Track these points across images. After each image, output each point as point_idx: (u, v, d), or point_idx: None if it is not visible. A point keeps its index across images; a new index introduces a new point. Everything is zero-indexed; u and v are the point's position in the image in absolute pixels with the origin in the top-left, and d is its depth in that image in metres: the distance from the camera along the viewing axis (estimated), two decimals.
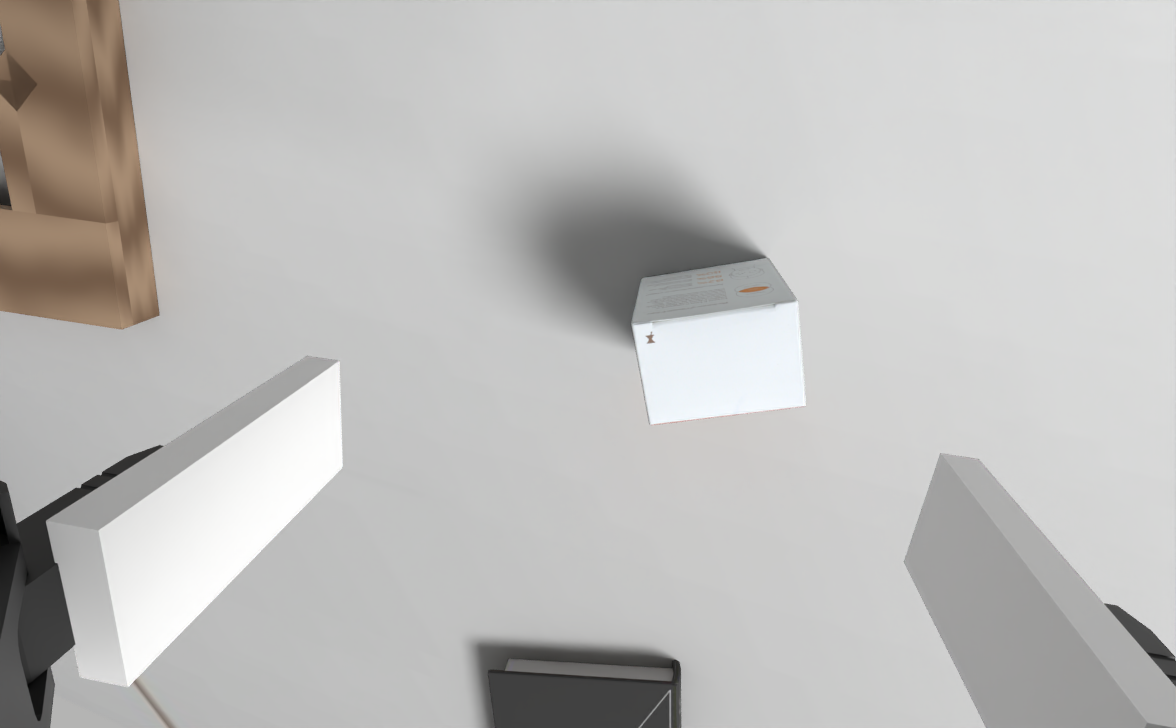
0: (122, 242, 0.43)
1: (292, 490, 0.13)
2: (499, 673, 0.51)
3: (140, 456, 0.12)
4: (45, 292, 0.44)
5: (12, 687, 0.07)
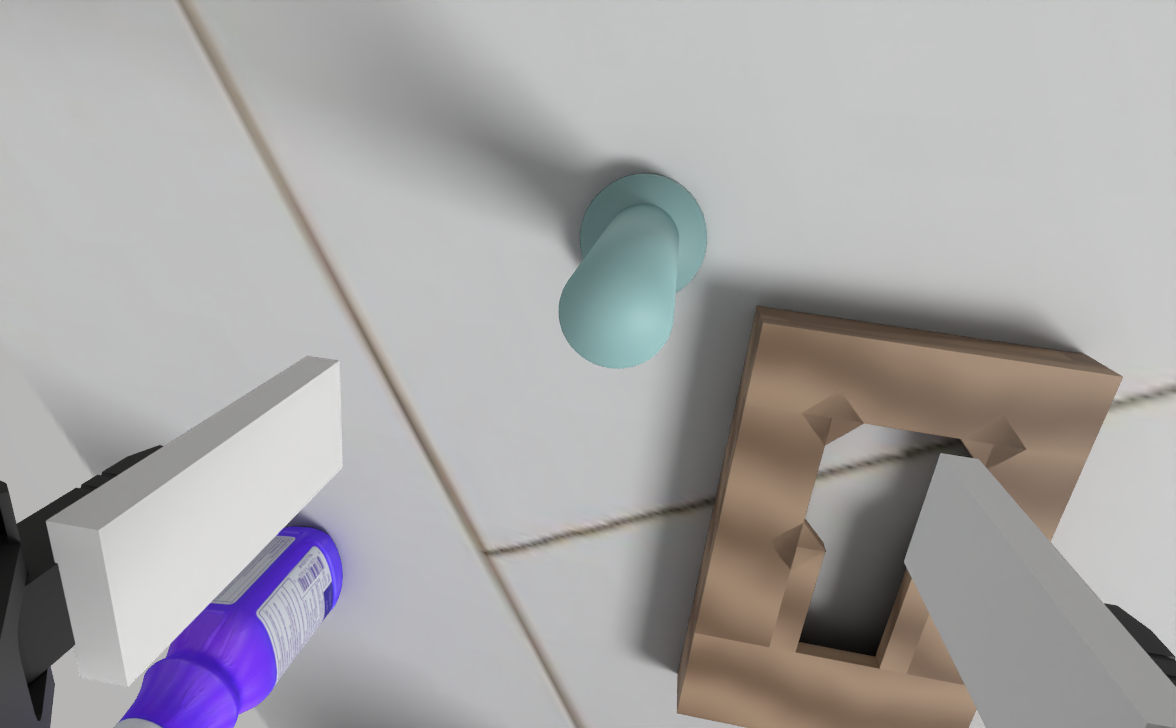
0: None
1: (292, 490, 0.13)
2: None
3: (139, 456, 0.12)
4: None
5: (12, 687, 0.07)
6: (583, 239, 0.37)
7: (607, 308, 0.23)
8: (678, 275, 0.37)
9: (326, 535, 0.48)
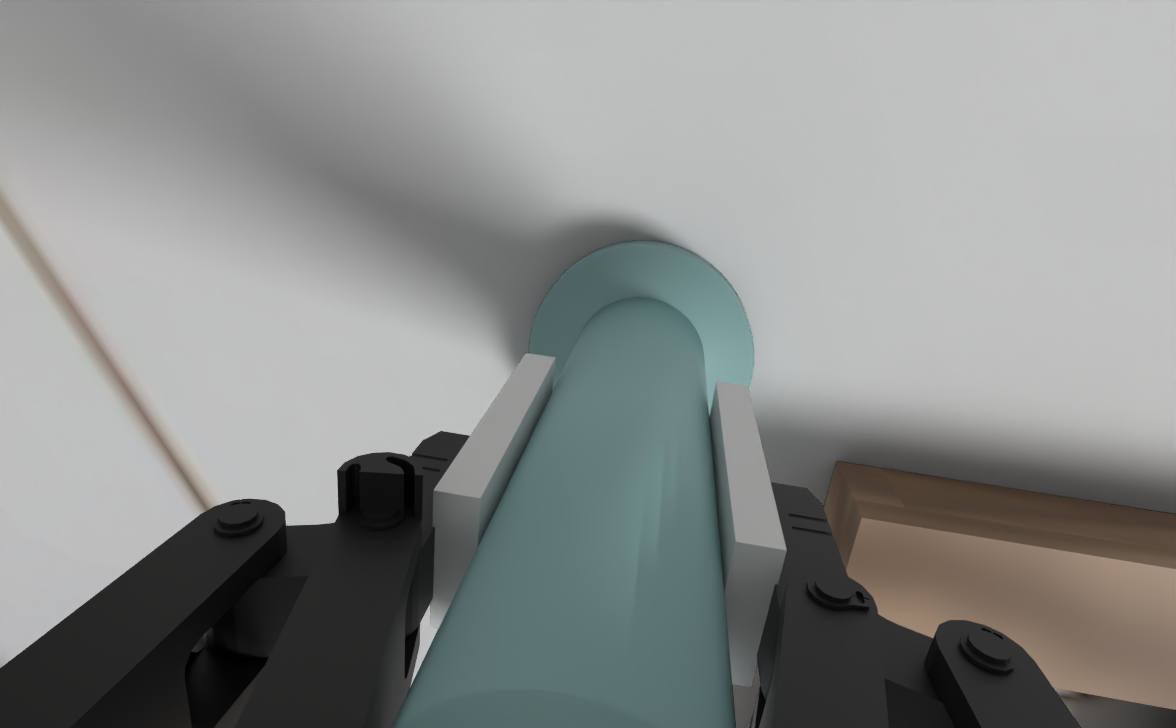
0: None
1: None
2: None
3: (432, 440, 0.13)
4: None
5: (396, 649, 0.08)
6: None
7: None
8: None
9: None
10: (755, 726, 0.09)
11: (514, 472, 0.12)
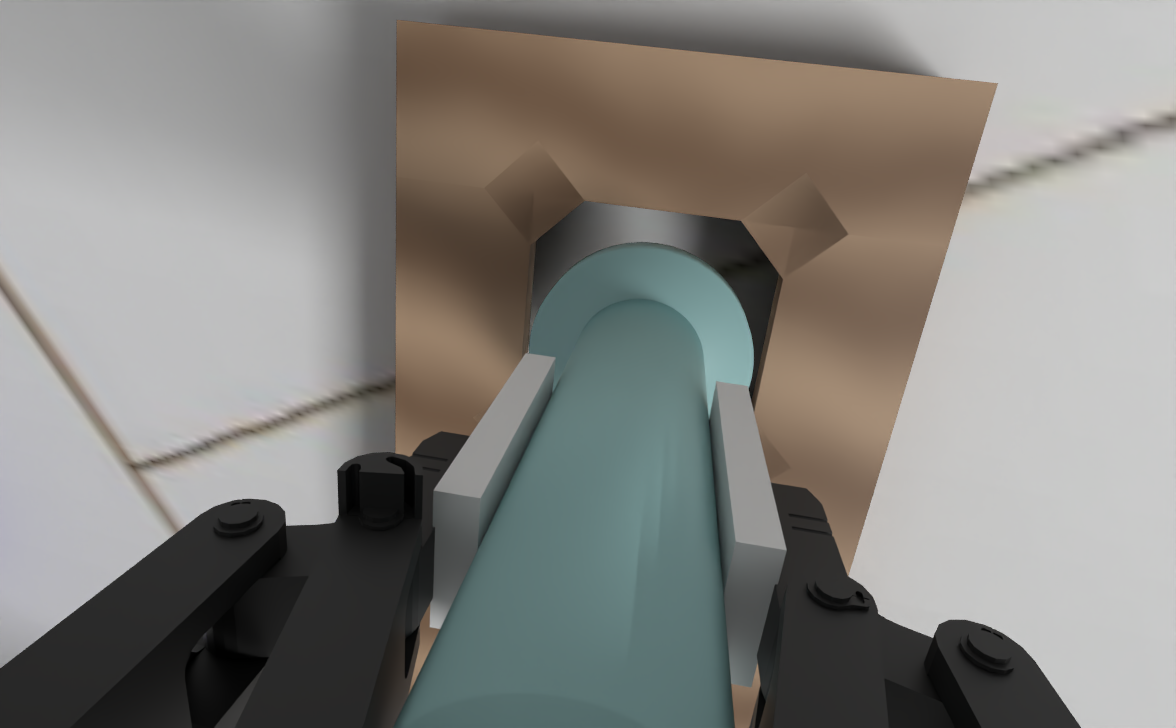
0: None
1: None
2: None
3: (432, 440, 0.13)
4: None
5: (396, 649, 0.08)
6: None
7: None
8: None
9: None
10: (755, 726, 0.09)
11: (514, 474, 0.12)
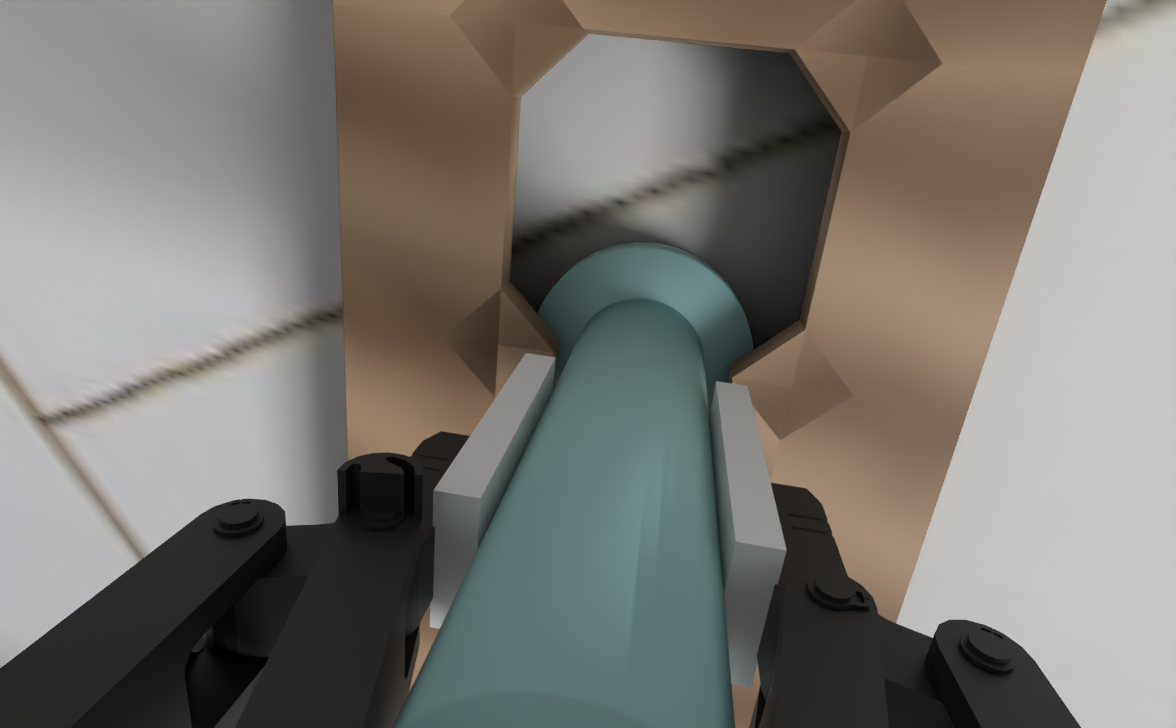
0: None
1: None
2: None
3: (432, 440, 0.13)
4: None
5: (396, 649, 0.08)
6: None
7: None
8: None
9: None
10: (755, 726, 0.09)
11: (514, 474, 0.12)
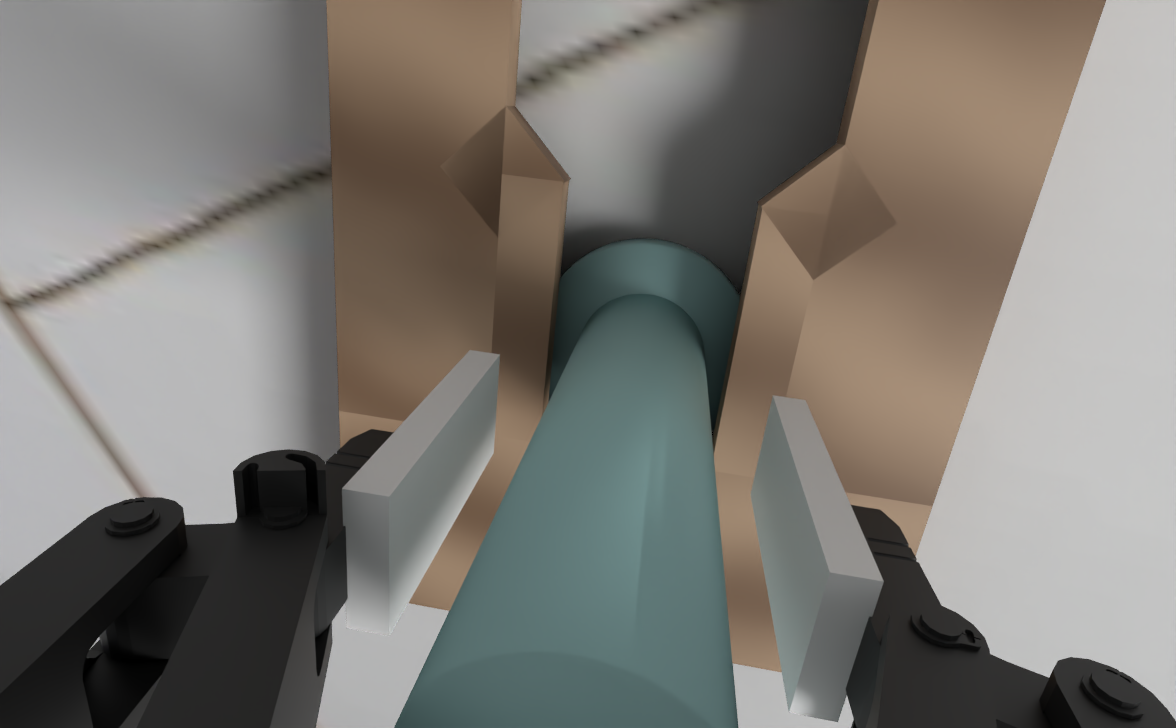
0: None
1: (470, 471, 0.15)
2: None
3: (361, 438, 0.13)
4: None
5: (305, 646, 0.08)
6: None
7: None
8: None
9: None
10: None
11: (522, 460, 0.12)
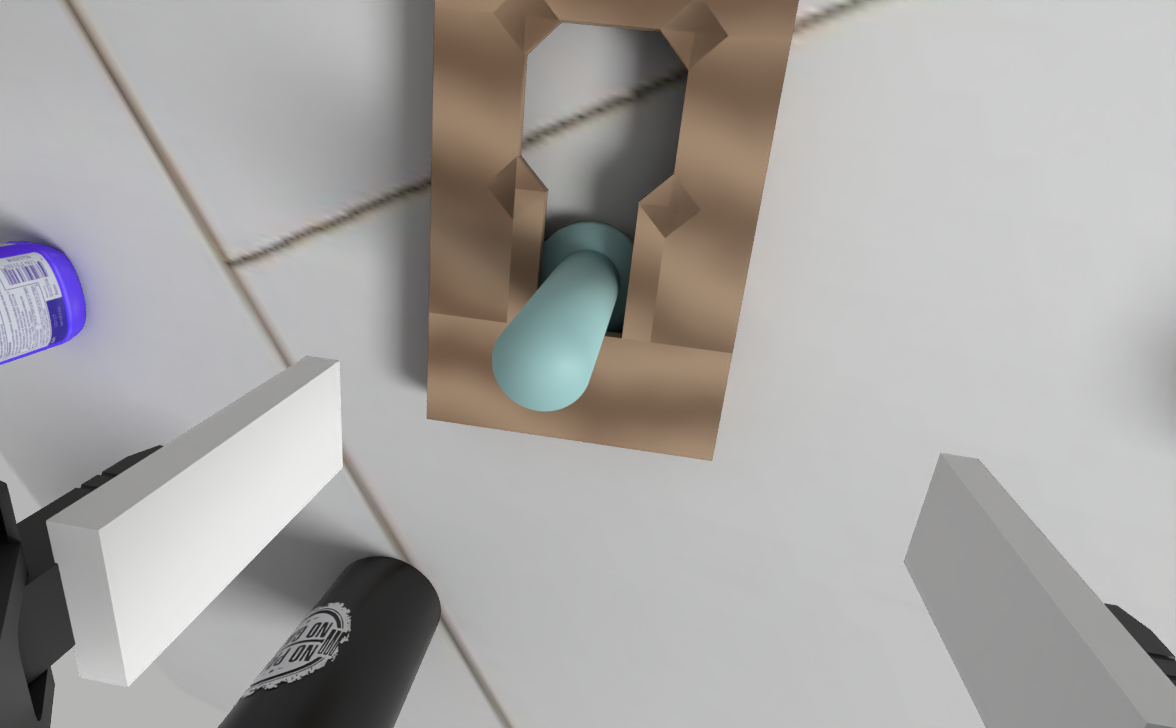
0: None
1: (292, 490, 0.13)
2: None
3: (140, 456, 0.12)
4: (632, 421, 0.40)
5: (12, 687, 0.07)
6: None
7: (534, 359, 0.26)
8: (620, 313, 0.40)
9: (59, 252, 0.44)
10: None
11: None
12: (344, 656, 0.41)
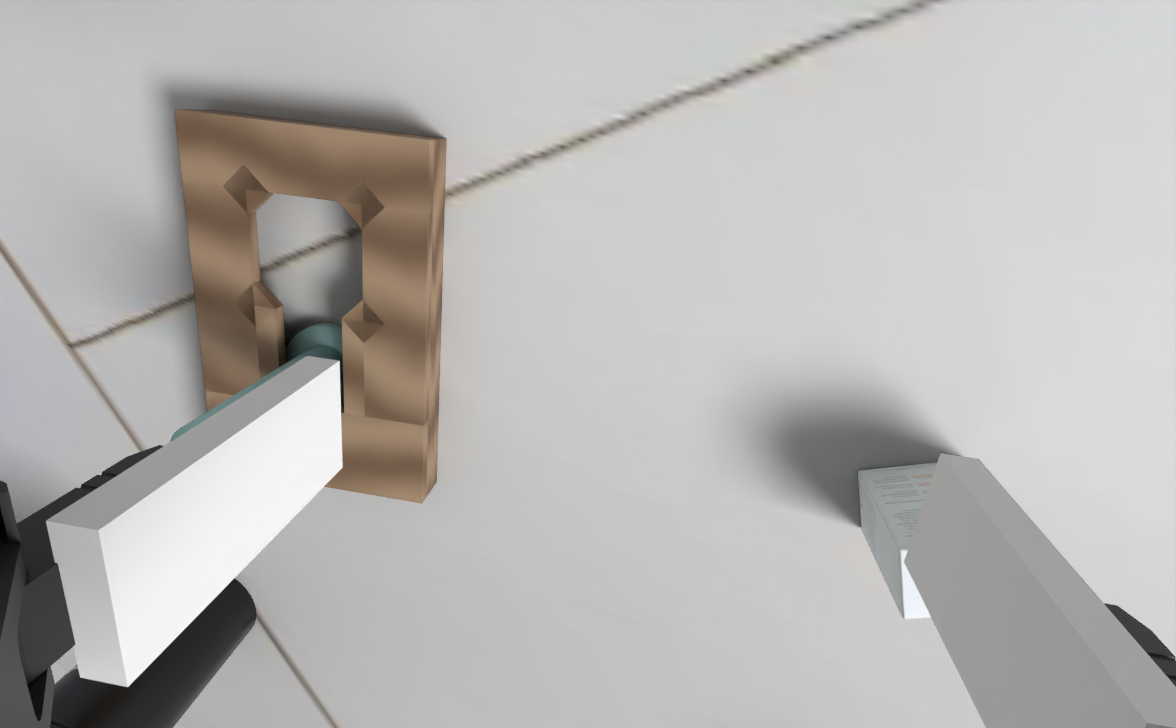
0: (428, 435, 0.53)
1: (292, 490, 0.13)
2: None
3: (140, 456, 0.12)
4: (360, 473, 0.54)
5: (12, 687, 0.07)
6: None
7: None
8: None
9: None
10: None
11: None
12: None
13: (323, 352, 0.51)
